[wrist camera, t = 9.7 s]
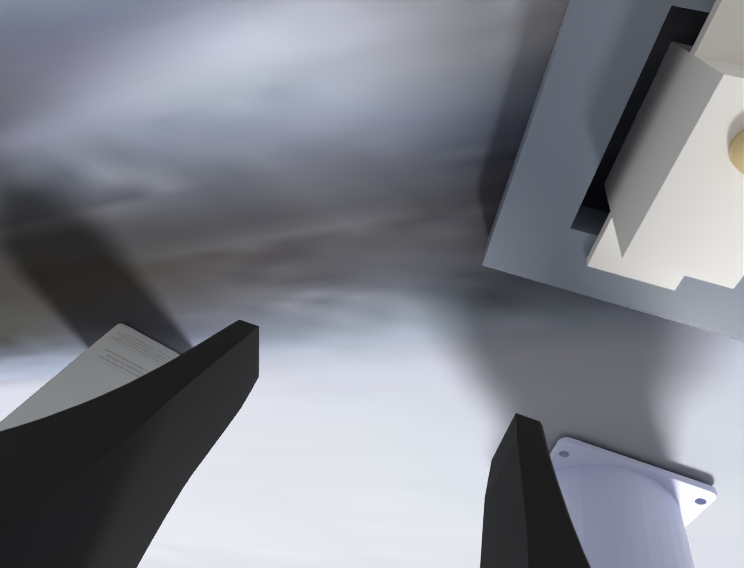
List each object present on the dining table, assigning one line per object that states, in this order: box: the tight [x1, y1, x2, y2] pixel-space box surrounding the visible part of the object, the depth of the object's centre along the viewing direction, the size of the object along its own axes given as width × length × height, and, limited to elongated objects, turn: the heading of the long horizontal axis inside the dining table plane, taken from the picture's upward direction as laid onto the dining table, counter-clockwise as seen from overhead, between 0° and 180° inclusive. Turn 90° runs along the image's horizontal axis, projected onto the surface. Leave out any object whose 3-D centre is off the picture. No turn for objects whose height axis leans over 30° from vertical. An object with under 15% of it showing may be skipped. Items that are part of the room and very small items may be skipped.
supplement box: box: [0, 323, 180, 431], centre depth 29 cm, size 7×7×13 cm
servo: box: [586, 0, 744, 291], centre depth 14 cm, size 9×3×6 cm, turn 172°
